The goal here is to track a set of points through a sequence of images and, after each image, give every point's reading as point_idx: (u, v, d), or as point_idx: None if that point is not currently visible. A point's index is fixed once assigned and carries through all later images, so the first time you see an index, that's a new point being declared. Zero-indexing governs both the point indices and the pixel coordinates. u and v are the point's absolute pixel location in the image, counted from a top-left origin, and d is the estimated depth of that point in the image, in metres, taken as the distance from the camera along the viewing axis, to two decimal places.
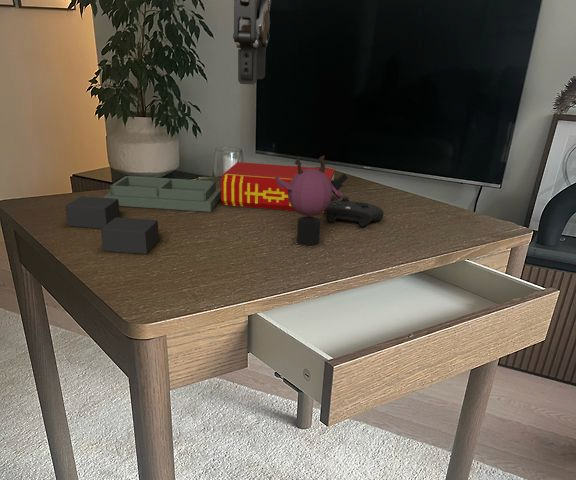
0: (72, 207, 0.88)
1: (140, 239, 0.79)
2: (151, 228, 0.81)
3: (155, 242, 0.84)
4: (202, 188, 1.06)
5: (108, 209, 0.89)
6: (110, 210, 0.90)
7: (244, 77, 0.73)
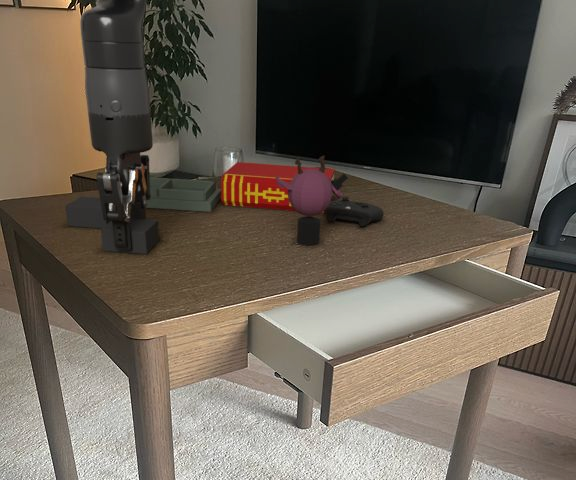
0: (72, 207, 0.88)
1: (140, 239, 0.79)
2: (151, 228, 0.81)
3: (155, 242, 0.84)
4: (202, 188, 1.06)
5: None
6: None
7: (119, 245, 0.79)
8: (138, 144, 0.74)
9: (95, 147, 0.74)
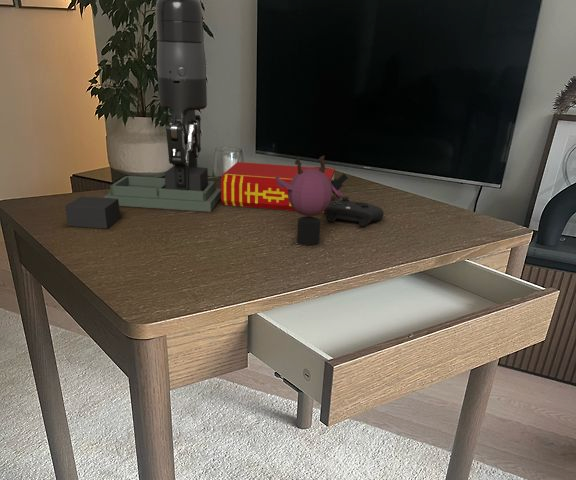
0: (72, 207, 0.88)
1: (196, 180, 0.99)
2: (203, 173, 1.01)
3: (205, 186, 1.04)
4: None
5: (108, 209, 0.89)
6: (110, 210, 0.90)
7: (179, 185, 0.99)
8: (197, 102, 0.94)
9: (163, 105, 0.94)
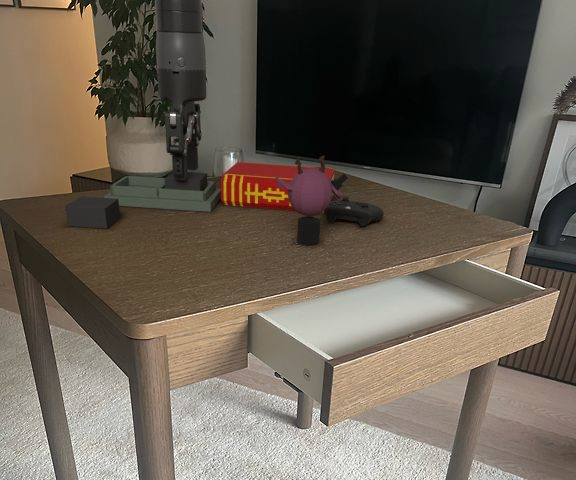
0: (72, 207, 0.88)
1: (195, 186, 1.00)
2: (203, 178, 1.02)
3: None
4: None
5: (108, 209, 0.89)
6: (110, 210, 0.90)
7: (177, 175, 0.97)
8: (196, 93, 0.93)
9: (162, 96, 0.93)
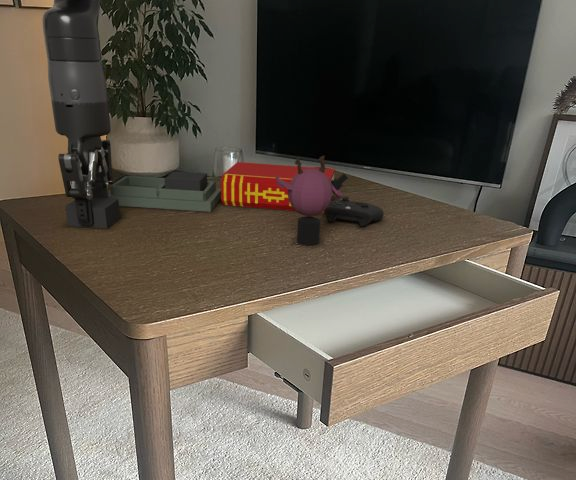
0: (72, 207, 0.88)
1: (195, 186, 1.00)
2: (203, 178, 1.02)
3: None
4: None
5: (108, 209, 0.89)
6: (110, 210, 0.90)
7: (81, 220, 0.88)
8: (96, 128, 0.83)
9: (58, 131, 0.83)
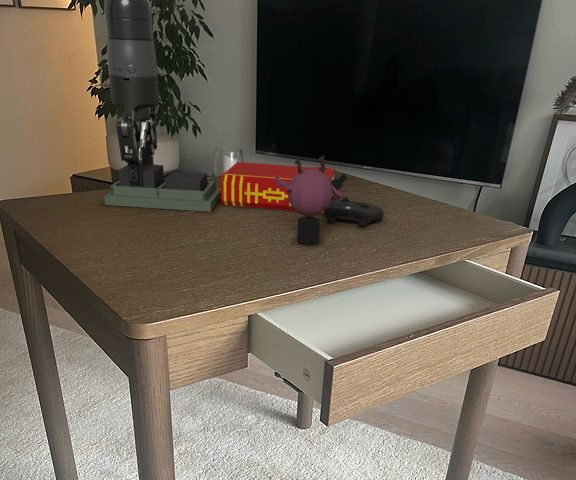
0: (124, 171, 1.00)
1: (195, 186, 1.00)
2: (203, 178, 1.02)
3: None
4: None
5: (156, 173, 1.01)
6: (157, 174, 1.01)
7: (133, 182, 0.99)
8: (148, 99, 0.94)
9: (114, 102, 0.95)
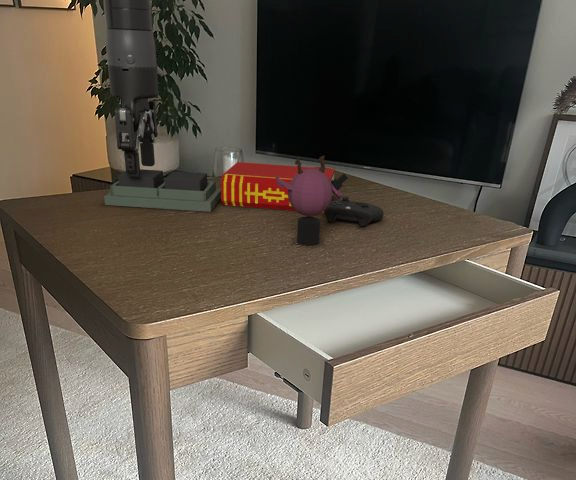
0: (124, 177, 1.00)
1: (195, 186, 1.00)
2: (203, 178, 1.02)
3: None
4: None
5: (155, 179, 1.01)
6: (156, 180, 1.02)
7: (129, 172, 0.97)
8: (147, 90, 0.94)
9: (113, 93, 0.94)
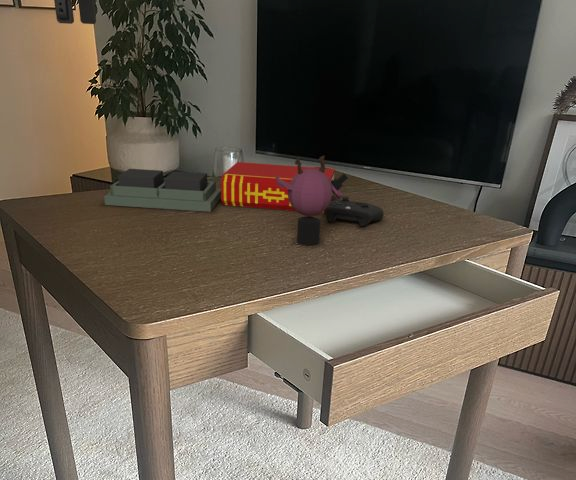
0: (124, 177, 1.00)
1: (195, 186, 1.00)
2: (203, 178, 1.02)
3: None
4: None
5: (155, 179, 1.01)
6: (156, 180, 1.02)
7: (60, 16, 0.83)
8: None
9: None
